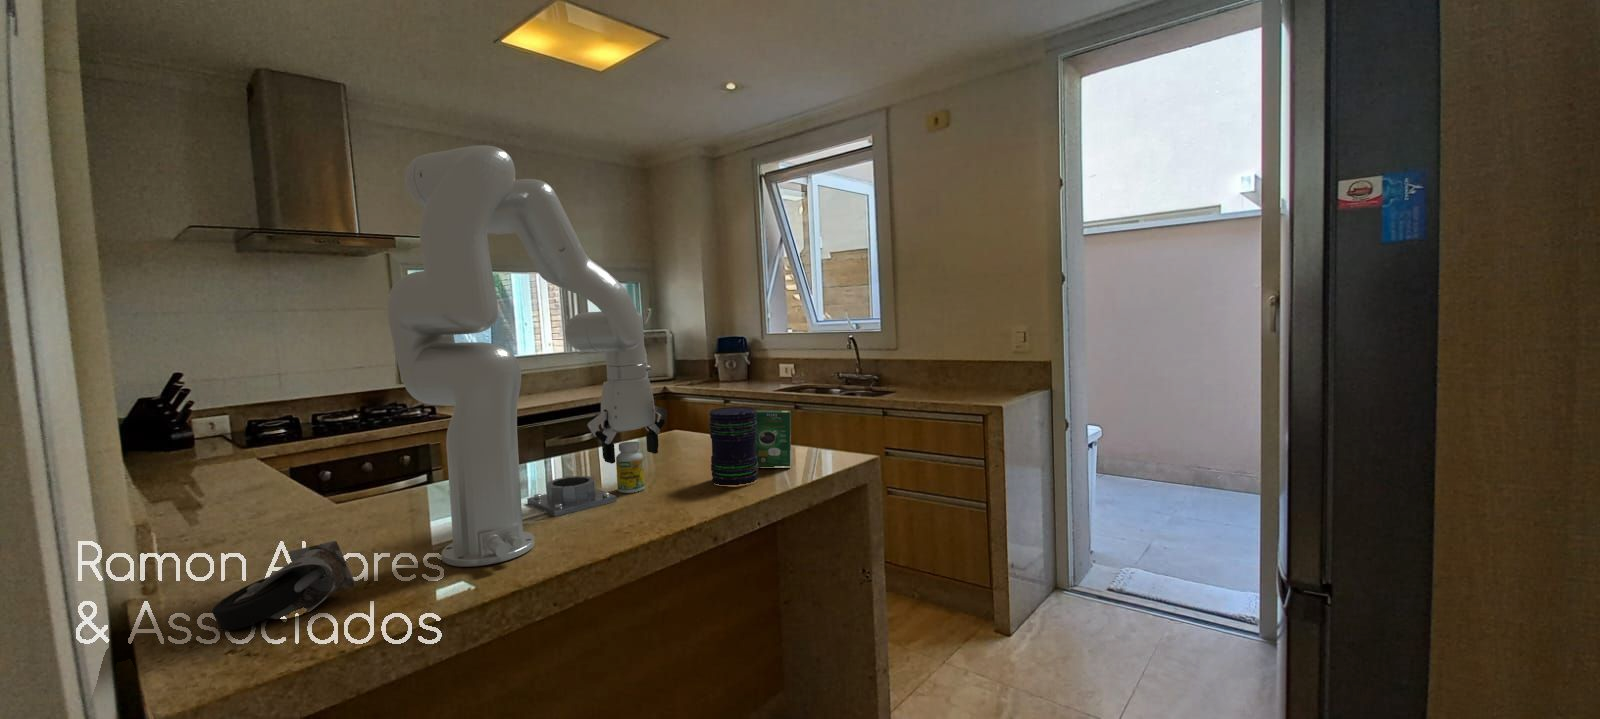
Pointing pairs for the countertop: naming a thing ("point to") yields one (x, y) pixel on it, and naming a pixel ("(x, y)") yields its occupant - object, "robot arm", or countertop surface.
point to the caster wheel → (287, 588)
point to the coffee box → (773, 438)
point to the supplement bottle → (630, 468)
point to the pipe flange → (570, 496)
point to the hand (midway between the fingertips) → (631, 457)
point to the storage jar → (733, 445)
